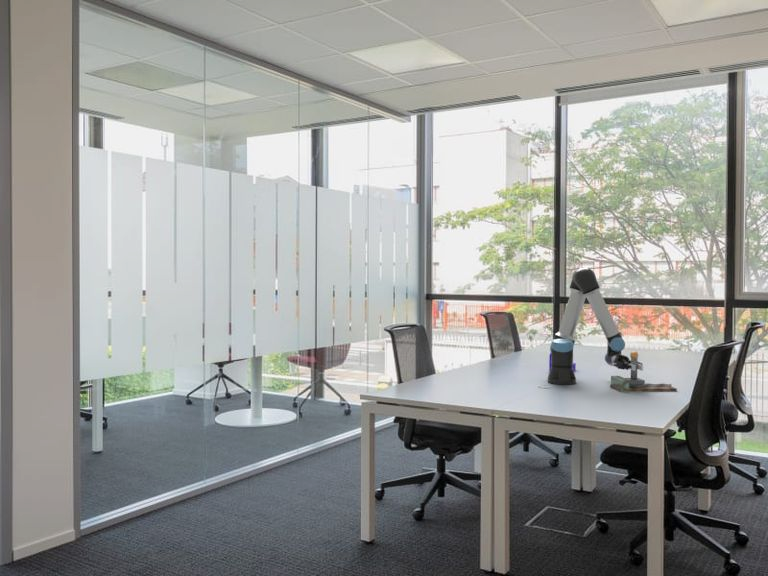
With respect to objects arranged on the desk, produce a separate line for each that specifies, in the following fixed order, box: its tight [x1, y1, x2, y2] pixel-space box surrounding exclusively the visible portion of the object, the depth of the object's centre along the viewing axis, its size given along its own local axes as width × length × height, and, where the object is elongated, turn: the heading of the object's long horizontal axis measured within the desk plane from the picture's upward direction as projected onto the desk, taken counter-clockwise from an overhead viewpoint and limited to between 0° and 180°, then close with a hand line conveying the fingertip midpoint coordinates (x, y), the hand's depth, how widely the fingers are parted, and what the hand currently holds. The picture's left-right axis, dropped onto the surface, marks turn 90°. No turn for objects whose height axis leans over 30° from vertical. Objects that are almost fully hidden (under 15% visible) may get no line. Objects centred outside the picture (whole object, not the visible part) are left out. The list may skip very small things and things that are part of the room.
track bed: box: [609, 375, 678, 393], centre depth 354 cm, size 30×14×6 cm, turn 92°
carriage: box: [624, 351, 646, 386], centre depth 354 cm, size 8×8×18 cm
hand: (638, 367), depth 348 cm, fingers closed on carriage, 3 cm apart
